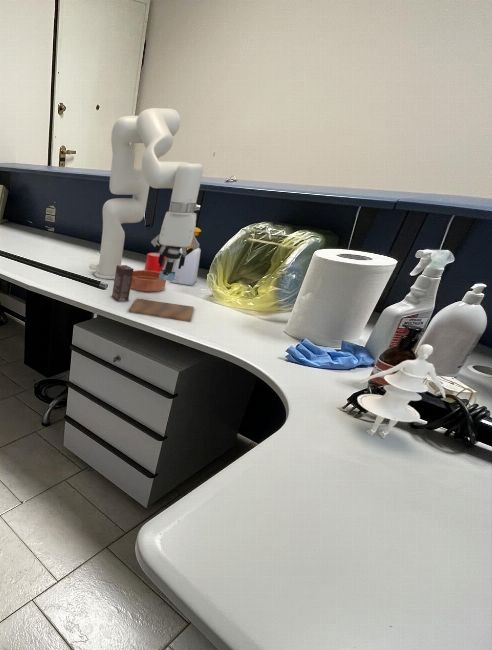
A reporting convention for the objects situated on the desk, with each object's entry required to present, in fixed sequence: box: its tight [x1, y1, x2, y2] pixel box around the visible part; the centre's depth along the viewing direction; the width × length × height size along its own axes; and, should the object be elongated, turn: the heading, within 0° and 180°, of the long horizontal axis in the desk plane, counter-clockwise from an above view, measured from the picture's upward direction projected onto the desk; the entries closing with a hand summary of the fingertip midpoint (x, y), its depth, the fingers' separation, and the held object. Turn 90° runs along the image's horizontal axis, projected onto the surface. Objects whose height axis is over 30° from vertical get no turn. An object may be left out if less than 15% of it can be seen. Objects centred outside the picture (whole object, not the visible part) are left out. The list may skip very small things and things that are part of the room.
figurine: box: [356, 343, 446, 440], centre depth 77 cm, size 13×10×20 cm
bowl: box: [130, 269, 167, 293], centre depth 166 cm, size 15×15×5 cm
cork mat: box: [128, 298, 194, 322], centre depth 143 cm, size 20×14×1 cm
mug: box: [144, 252, 169, 273], centre depth 185 cm, size 8×12×8 cm, turn 57°
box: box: [111, 264, 135, 302], centre depth 151 cm, size 6×4×12 cm
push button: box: [159, 247, 182, 282], centre depth 135 cm, size 7×5×10 cm
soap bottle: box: [170, 226, 202, 286], centre depth 167 cm, size 10×14×22 cm
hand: (170, 266), depth 135 cm, fingers closed on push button, 5 cm apart
